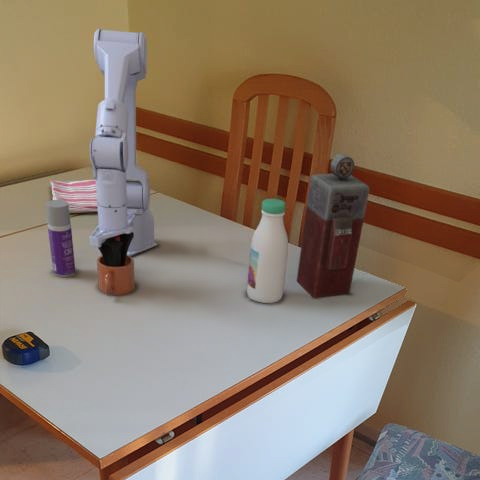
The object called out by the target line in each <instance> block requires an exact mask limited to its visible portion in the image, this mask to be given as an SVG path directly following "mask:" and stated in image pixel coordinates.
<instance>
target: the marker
mask: <svg viewBox="0 0 480 480" xmlns="http://www.w3.org/2000/svg"><path fill="white" fill-rule="evenodd" d="M114 239H116V241H120V236H119V235H117V236H114ZM119 267H121V250H120V254H119Z"/></svg>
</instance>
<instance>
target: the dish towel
mask: <svg viewBox="0 0 480 480" xmlns="http://www.w3.org/2000/svg"><path fill="white" fill-rule="evenodd" d="M49 183H50V187H51V188H50V189H51V195H52V200H63V201H66V202H68V206H69V214H84V213H98V208H97V194H96V180H95V179H84V180H73V181H72V180H69V181H61V180H50V181H49Z"/></svg>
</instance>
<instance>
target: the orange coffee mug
mask: <svg viewBox="0 0 480 480" xmlns="http://www.w3.org/2000/svg"><path fill="white" fill-rule="evenodd" d="M96 268H97V281H98V289H99V291H100V292H101V293H103V294H105V295H106V296H107V297H109V296H122V295H123V296H124V295H127V294H129V293H132V292H133V291H134V290H135V288H136V287H135V285H136V280H135V260H134V258H133V257H132V256H129V255H127V256H126V261H125V266H121V267H110V266H106V265H105V262H104V259H103V256H102V255H100V256H98V257H97V259H96Z"/></svg>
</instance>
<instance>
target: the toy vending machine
mask: <svg viewBox="0 0 480 480" xmlns="http://www.w3.org/2000/svg"><path fill="white" fill-rule="evenodd" d="M354 170H355V161H354V159H353V158H352V157H350V156H349V155H347V154H346V153H339V154H337V155H335V157H334V158H333V159H332V160H331V162H330V171H331V173H318V174H317V173H316V174H313V175H311V176H310V180H309V186H308V187H309V188H308V194H307V202H306V208H305V217H304V224H303V231H302V241H301V245H300V246H301V248H300V253H299V254H300V255H299V260H298V262H299V263H298V267H297V268H298V269H297V277H296V283H298V284H299V285H300V286H301V288H302V289H304V291H305V292H307V294H309V296H310V297H311V298H312V299H322V298H329V297H338V296H348V295H350V293H351V288H352V282H353V276H354V271H355V266H356V262H357V256H358V251H359V248H360V247H359V246H360V241H361V235H362V232H363V231H362V230H363V226H364V222H365V221H364V220H365V215H366V209H367V204H368V200H369V196H370V195H369V194H370V186H369V185H367V184H366V183H365V182H363V181H361V180H360V179H358V178H356V177H355V176H353V175H352V174H353V173H354Z"/></svg>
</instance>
